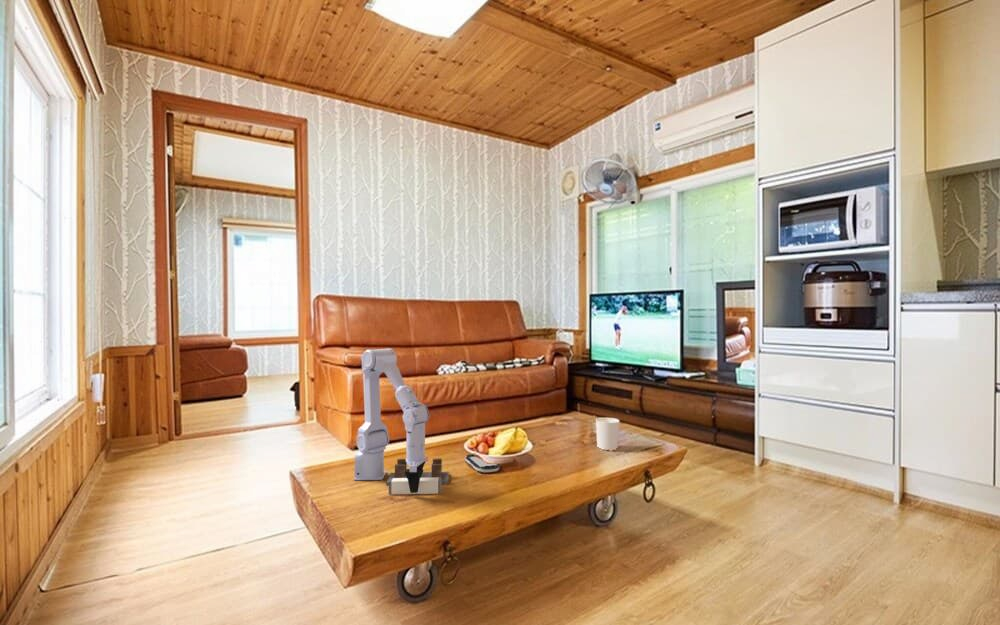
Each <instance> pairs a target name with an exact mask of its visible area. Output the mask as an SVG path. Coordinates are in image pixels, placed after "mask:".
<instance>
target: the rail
mask: <svg viewBox="0 0 1000 625" xmlns="http://www.w3.org/2000/svg"><path fill="white" fill-rule="evenodd" d="M441 493H442V484H441V477H432V478H420V481H419V488H418V492H417V493H411V492H410V488H409V483H408V479H407V478H390V480H389V485H388V495H389V494H391V495H430V494H433V495H434V494H441Z"/></svg>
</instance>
